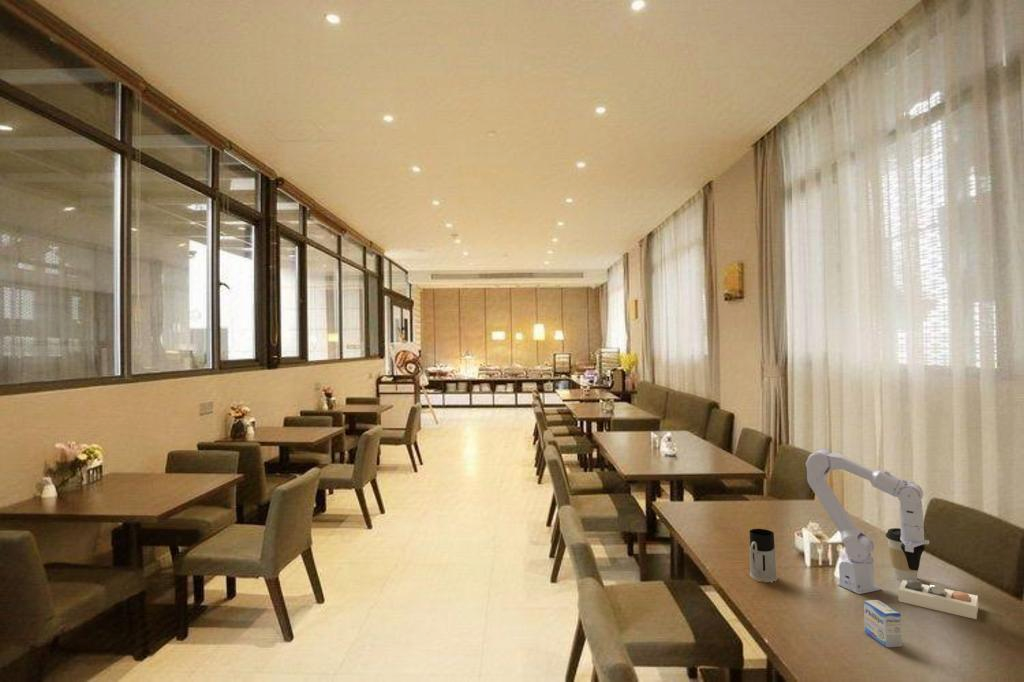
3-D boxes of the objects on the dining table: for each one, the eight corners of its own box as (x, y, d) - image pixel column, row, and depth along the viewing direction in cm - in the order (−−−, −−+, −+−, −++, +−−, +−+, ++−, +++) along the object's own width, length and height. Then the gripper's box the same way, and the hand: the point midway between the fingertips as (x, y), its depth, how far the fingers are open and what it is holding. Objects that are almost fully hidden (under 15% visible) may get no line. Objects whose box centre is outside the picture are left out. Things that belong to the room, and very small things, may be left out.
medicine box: (864, 632, 150) (863, 600, 150) (879, 631, 151) (878, 599, 151) (886, 648, 142) (885, 613, 142) (902, 647, 143) (901, 612, 143)
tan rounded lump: (952, 604, 161) (952, 594, 161) (954, 600, 164) (953, 590, 164) (968, 608, 159) (968, 597, 159) (969, 603, 161) (969, 593, 162)
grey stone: (906, 591, 169) (906, 581, 169) (908, 587, 171) (907, 577, 171) (921, 594, 166) (920, 584, 166) (922, 590, 169) (922, 580, 169)
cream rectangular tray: (898, 601, 168) (898, 589, 168) (903, 591, 174) (902, 579, 174) (976, 619, 156) (975, 606, 156) (978, 607, 162) (977, 595, 162)
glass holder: (781, 576, 188) (779, 531, 188) (766, 590, 178) (764, 542, 178) (754, 570, 194) (753, 526, 194) (738, 583, 184) (737, 537, 184)
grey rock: (929, 596, 165) (928, 586, 165) (930, 592, 168) (930, 582, 168) (944, 599, 163) (944, 589, 163) (945, 595, 165) (945, 585, 165)
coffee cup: (930, 585, 178) (928, 537, 178) (895, 583, 180) (893, 536, 180) (914, 573, 188) (912, 528, 188) (881, 571, 190) (880, 527, 190)
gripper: (925, 532, 161) (927, 580, 161) (931, 520, 172) (933, 565, 172) (895, 528, 166) (897, 574, 166) (903, 516, 177) (905, 560, 176)
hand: (913, 569), depth 169 cm, fingers closed
